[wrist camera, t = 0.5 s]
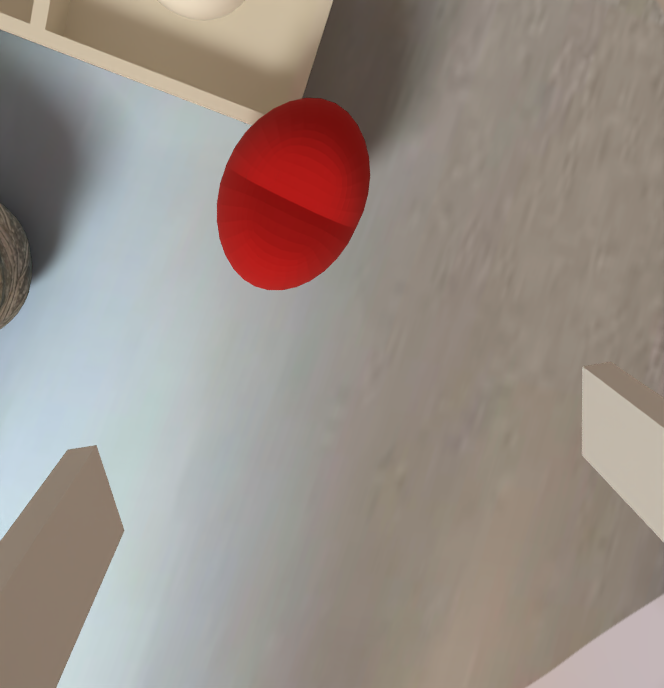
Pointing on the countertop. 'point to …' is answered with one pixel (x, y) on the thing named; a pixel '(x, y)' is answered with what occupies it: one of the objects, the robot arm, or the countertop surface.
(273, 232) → the red rounded piece
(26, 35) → the tray
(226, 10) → the egg
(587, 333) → the countertop surface
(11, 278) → the mug
